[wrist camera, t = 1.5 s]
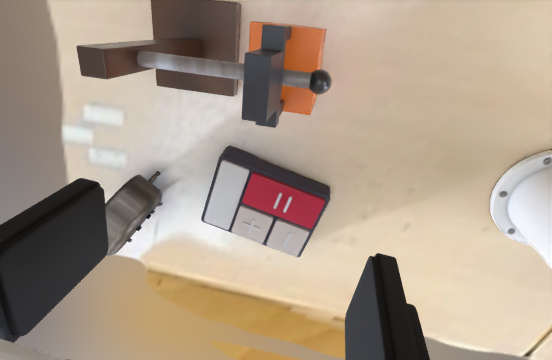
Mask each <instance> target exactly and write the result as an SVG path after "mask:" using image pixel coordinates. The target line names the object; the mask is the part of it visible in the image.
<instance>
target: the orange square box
mask: <svg viewBox="0 0 552 360" xmlns="http://www.w3.org/2000/svg"><path fill="white" fill-rule="evenodd" d="M325 35H326V29H323V28H314V27H305V26H296V25H287V24H278V23H269V22H251V23H250V42H249V52H247V53H245V62H244V83H243V103H242V119H243V120H249V121H256V125H261V126H267V127H274V128H275V127H276V126H277V124H278V121H279V116H280V114H281V113H282V112H283V111H286V112H293V113H300V114H307V115H310V114H311V112H312V109H313V106H314V104H315V101H316V94H315V93H313V92H312V91H311V90H310V89H306V88H298V87H291V86H283V85H282V81H283V72H284V69H288V70H296V71H304V72H313V71H315V70H318V69H320V68H321V61H322V55H323V48H324V42H325Z"/></svg>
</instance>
